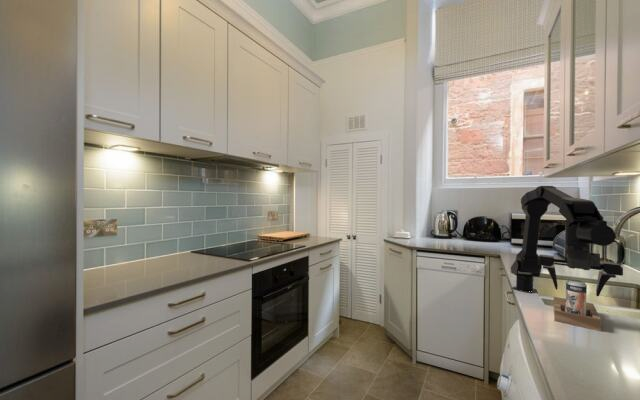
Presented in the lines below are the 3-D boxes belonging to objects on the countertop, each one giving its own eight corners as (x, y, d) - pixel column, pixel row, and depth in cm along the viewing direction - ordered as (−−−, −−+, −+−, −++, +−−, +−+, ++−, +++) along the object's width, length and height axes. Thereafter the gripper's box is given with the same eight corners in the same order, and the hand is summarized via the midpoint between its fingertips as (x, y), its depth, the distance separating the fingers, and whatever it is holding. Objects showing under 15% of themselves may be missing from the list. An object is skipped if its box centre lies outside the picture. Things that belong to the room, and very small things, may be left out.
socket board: (553, 305, 99) (553, 296, 99) (592, 312, 93) (593, 303, 93) (554, 320, 85) (554, 310, 85) (601, 331, 79) (601, 320, 79)
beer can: (561, 318, 87) (562, 279, 87) (569, 316, 89) (570, 278, 89) (581, 324, 83) (582, 283, 83) (589, 322, 85) (590, 282, 85)
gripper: (538, 240, 86) (536, 291, 86) (628, 247, 74) (626, 307, 74) (538, 237, 94) (537, 284, 94) (619, 243, 83) (618, 297, 83)
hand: (576, 292), depth 86 cm, fingers open, 9 cm apart
